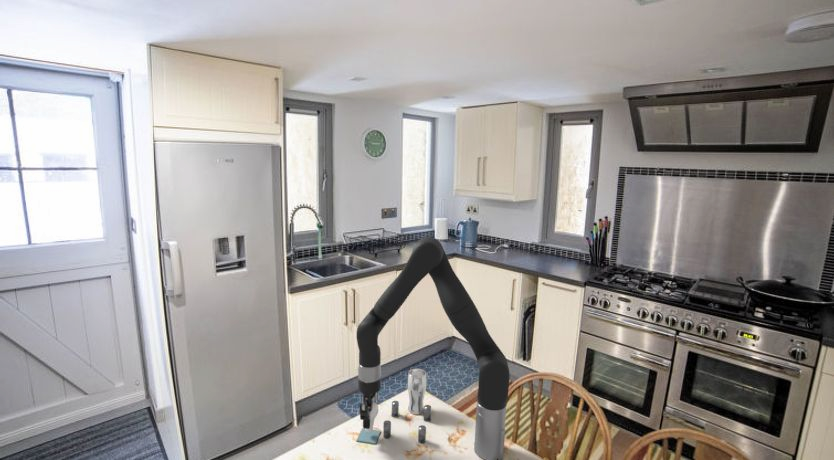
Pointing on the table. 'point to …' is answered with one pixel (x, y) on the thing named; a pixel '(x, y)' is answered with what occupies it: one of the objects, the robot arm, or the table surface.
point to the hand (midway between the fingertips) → (369, 422)
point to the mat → (368, 436)
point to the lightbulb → (372, 416)
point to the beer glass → (416, 390)
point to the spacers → (421, 428)
